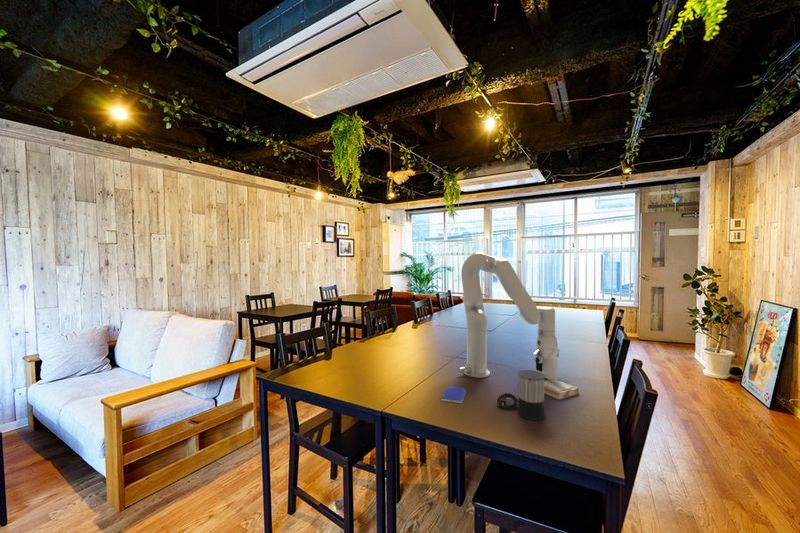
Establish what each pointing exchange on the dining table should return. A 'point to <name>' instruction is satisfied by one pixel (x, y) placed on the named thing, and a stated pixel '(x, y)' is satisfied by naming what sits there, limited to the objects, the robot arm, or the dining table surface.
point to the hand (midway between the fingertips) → (546, 369)
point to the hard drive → (454, 394)
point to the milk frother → (528, 395)
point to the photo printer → (550, 367)
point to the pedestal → (559, 389)
